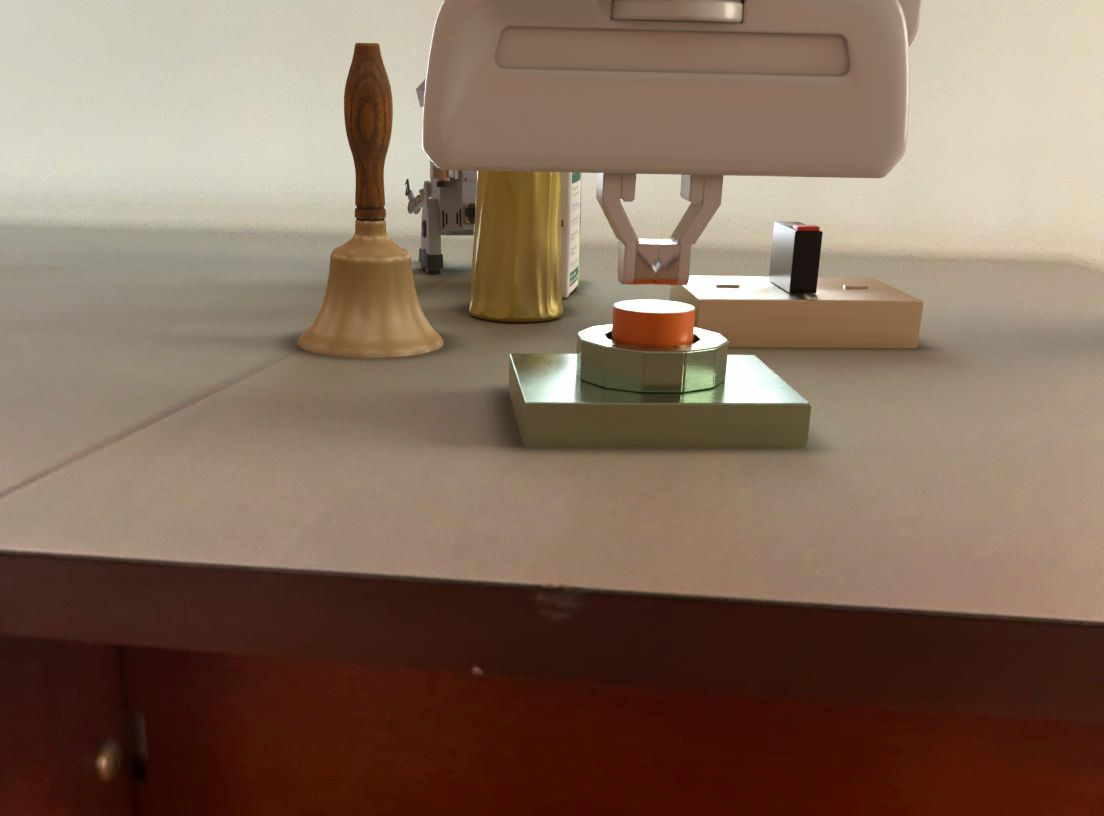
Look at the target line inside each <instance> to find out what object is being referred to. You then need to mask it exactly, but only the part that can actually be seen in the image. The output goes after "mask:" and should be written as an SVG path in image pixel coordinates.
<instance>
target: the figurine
mask: <svg viewBox="0 0 1104 816" xmlns="http://www.w3.org/2000/svg"><path fill="white" fill-rule="evenodd" d="M425 83H426V78H424V79H423V81H422V82H421V83H420V84H419V85H418V86H417V87H416V88H415V92H416V96H417V101H418V104H419V107H420V108H423V107H424V95H425ZM429 179H430V180H424V181H423V188H420V189H419V190H418V193H419V194H417V195H416V196H415V194H414V192H413V190H411V188H410V187H411V186H410V179H409V178H406V180H405V183H404V186H406V187H405V193H404V196H406V197H407V199H408V202H407V212H408V214H410V215H411V214H414V215H419V213H420V212H421V221H420V225H421V226H420V248H419V249H418V250H419V251H418V263H419V264H420V268H421V269H422V270H423V271H424V270H425V272H426V273H427V274H441V273H442V270H444V255H443V253H442V236H445V237H447V236H453V237H454V236H455V237H459V236H461V237H463V236H464V237H465V236H471V237H472V236H473V237H474V224H475V205H476V190H477V171H465V170H442V169H440V168H438V167H437V166H436V165H435V164H434V163H433V162H432V161H431V159H430V158H429Z"/></svg>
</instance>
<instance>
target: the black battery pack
mask: <svg viewBox="0 0 1104 816" xmlns="http://www.w3.org/2000/svg"><path fill="white" fill-rule="evenodd" d="M820 229H821V227H820V226H819V225H816V224H807V223H806V224H805V223H803V222H801V221H773V230H772V238H771V251H770V262H769V272H768V276H769V280H770V281H771V282H773V283H774V284H776V285H778V286H779V287H781V288H783V289H784V290H786V291H787V292H789V293H816V291H817V281H818V277H819V271H820V261H821V252H822V251H821V250H822V242H823V234H824V233H823V231H822V230H820Z"/></svg>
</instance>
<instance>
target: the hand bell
mask: <svg viewBox="0 0 1104 816" xmlns="http://www.w3.org/2000/svg"><path fill="white" fill-rule="evenodd" d="M353 49H354V50H353V54H352V59H351V62H350V66H349V70H348V73H347V77H346V81H345V85H344V93H343V94H344V95H343V115H344V116H343V117H344V118H343V119H344V126H345V127H344V128H345V132H346V133H345V134H346V138H347V143H348V146H349V149H350V152H351V155H352V159H353V164H354V171H355V172H354V173H355V190H354V192H355V193H354V195H355V196H354V205H355V208H354V218H355V220H354V221H355V222H354V223H355V224H354V225H355V226H354V234H353V236H352V237H351V238H350V239H349V240H348V241H346V242H344V243H343V244H341V245H338V246H337V247H335V248H333V249H332V251H331V252H330V255H329V257H330V258H329V259H330V260H329V271H328V277H327V283H326V284H327V285H326V289H325V294H324V297H323V300H322V304H321V306H320V309H319V311H318V313H317V315H316V317H315V318H314V320H313V321H312V323H311V324H310V325H309V327H308V328H307V329H305V330H304V331H303V333H302V334H301V335H300V337H299V339H298V342H297V345H298V347H299V348H301V349H303V350H305V351H307V352H311V353H315V354H318V355H319V354H320V355H325V356H332V357H333V356H334V357H341V358H361V359H378V358H379V359H380V358H381V359H382V358H400V357H409V356H416V355H423V354H428V353H432V352H435V351H437V350H439V349H441V348H442V347H443V346H444V345H445V343H444V340H443V338H442V337H441V335H440V333H439V332H437V331H436V330H435V329H434V328H433V326H431V323H429V320H427V319H428V318H427V317H426V315H425V313H424V312H423V310H422V307H421V304H420V302H419V298H418V295H417V289H416V286H415V280H414V273H413V267H412V266H413V265H412V255H411V253H410V252H409V251H408V250H407V249H406V248H404V247H402V246H400V245H399V244H398V243H396V242H394V241H393V240H392V239H391V238H390V237H389V236H388V233H387V221H386V218H387V210H386V208H385V206H386V194H385V176H384V175H385V163H386V159H387V156H388V150H389V147H390V143H391V137H392V131H393V121H394V108H393V107H394V106H393V105H394V104H393V103H394V102H393V94H392V87H391V82H390V80H389V76H388V72H387V70H386V66H385V64H384V59H383V55H382V52H381V46H380V44H379V43H377V42H355V43H354V48H353Z"/></svg>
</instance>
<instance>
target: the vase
mask: <svg viewBox="0 0 1104 816" xmlns="http://www.w3.org/2000/svg"><path fill="white" fill-rule="evenodd" d="M470 282H471V284H470V300H469V307H468V312H469V313H470V315H471V316H473V317H475V318H478V319H481V320H486V321H490V322H491V321H492V322H500V323H517V324H518V323H519V324H520V323H522V324H523V323H541V322H547V321H553V320H558V319H559V318H560V317H561V316H562V315H563V313H564V307H563V297H562V292H561V289H562V237H561V172H518V171H477V190H476V205H475V224H474V236H473V241H472V262H471V281H470Z"/></svg>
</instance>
